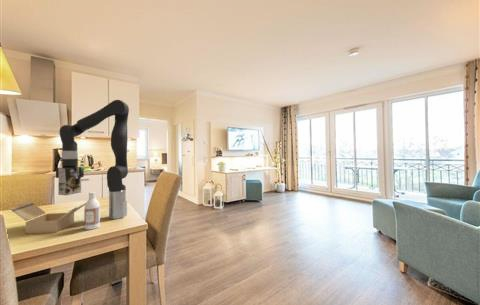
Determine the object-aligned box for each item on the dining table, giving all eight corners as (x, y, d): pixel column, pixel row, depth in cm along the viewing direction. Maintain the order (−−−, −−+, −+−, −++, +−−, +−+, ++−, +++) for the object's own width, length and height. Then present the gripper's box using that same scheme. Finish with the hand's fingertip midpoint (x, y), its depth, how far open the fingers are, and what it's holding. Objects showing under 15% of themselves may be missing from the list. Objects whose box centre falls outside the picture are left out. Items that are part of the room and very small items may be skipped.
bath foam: (81, 230, 107) (81, 193, 107) (88, 225, 114) (88, 191, 114) (96, 229, 109) (96, 193, 108) (102, 224, 115) (102, 190, 115)
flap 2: (58, 218, 106) (75, 207, 107) (73, 211, 118) (88, 201, 119) (58, 219, 106) (76, 208, 107) (74, 212, 118) (89, 202, 119)
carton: (74, 222, 119) (74, 212, 119) (56, 232, 105) (56, 220, 105) (47, 223, 116) (47, 213, 116) (25, 233, 103) (25, 222, 102)
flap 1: (45, 212, 115) (30, 201, 114) (26, 220, 103) (9, 207, 102) (45, 213, 115) (30, 202, 114) (25, 220, 103) (8, 208, 102)
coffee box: (66, 195, 117) (66, 168, 116) (58, 195, 118) (57, 168, 118) (81, 192, 126) (81, 167, 125) (73, 191, 127) (73, 166, 127)
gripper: (86, 157, 126) (86, 183, 126) (61, 157, 124) (61, 183, 124) (78, 158, 119) (78, 185, 119) (51, 158, 117) (52, 186, 117)
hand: (70, 184), depth 122 cm, fingers closed on coffee box, 7 cm apart
